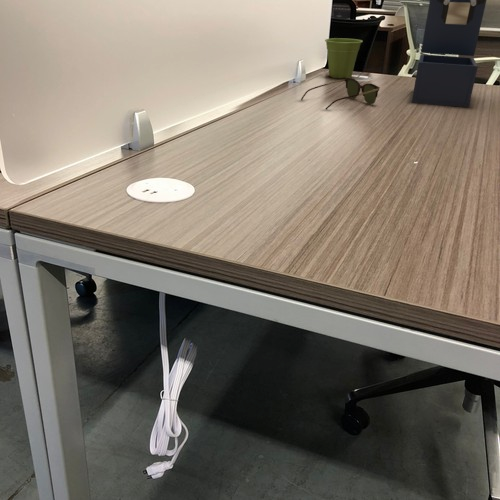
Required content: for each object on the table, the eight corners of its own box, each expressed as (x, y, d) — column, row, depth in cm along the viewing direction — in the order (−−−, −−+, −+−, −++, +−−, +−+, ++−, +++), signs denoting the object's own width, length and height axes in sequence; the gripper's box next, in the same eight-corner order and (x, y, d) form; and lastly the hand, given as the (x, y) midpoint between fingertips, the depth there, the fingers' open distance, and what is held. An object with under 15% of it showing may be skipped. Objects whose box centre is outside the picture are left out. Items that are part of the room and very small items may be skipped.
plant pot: (321, 73, 171) (324, 37, 165) (356, 75, 170) (360, 38, 164) (322, 79, 160) (325, 41, 155) (359, 81, 159) (364, 42, 154)
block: (465, 23, 128) (469, 2, 126) (466, 24, 124) (470, 3, 122) (445, 22, 129) (449, 1, 127) (445, 23, 125) (449, 2, 123)
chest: (468, 107, 128) (478, 66, 123) (411, 102, 132) (418, 62, 127) (465, 95, 143) (473, 57, 138) (414, 90, 147) (420, 54, 142)
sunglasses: (378, 106, 126) (380, 86, 124) (328, 116, 121) (329, 94, 118) (344, 95, 138) (345, 76, 135) (297, 103, 132) (297, 84, 130)
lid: (491, -22, 128) (489, -23, 133) (433, -24, 132) (434, -25, 137) (473, 56, 138) (472, 52, 143) (420, 52, 142) (421, 49, 146)
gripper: (439, -59, 117) (425, 21, 125) (506, -58, 113) (487, 24, 121) (439, -57, 123) (426, 20, 131) (502, -56, 120) (485, 23, 128)
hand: (455, 21), depth 126 cm, fingers closed on block, 4 cm apart
